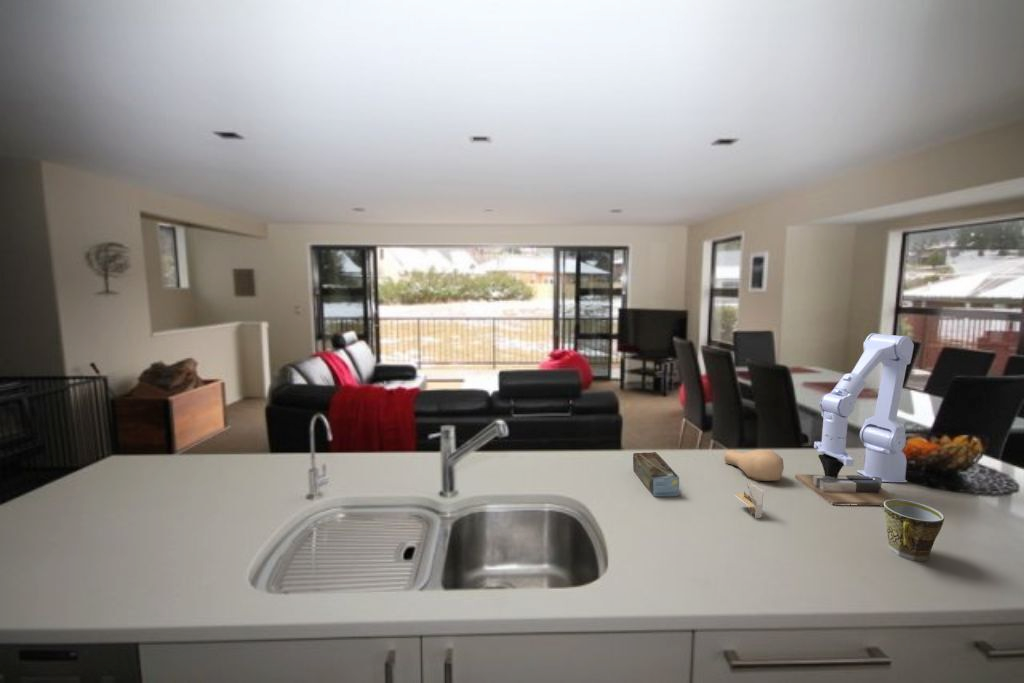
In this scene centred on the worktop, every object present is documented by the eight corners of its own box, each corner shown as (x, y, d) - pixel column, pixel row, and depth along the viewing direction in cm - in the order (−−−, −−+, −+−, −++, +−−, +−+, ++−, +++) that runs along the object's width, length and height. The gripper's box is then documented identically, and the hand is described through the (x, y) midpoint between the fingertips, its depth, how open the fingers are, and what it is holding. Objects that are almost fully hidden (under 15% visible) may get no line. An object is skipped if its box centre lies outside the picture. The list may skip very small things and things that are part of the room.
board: (858, 478, 140) (859, 475, 140) (906, 506, 122) (906, 502, 122) (794, 477, 141) (795, 474, 141) (832, 505, 123) (832, 501, 123)
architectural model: (749, 520, 117) (751, 492, 116) (734, 507, 123) (735, 480, 123) (762, 519, 117) (763, 491, 116) (746, 506, 124) (747, 480, 123)
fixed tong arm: (873, 489, 130) (874, 480, 129) (878, 492, 128) (879, 482, 128) (819, 489, 131) (819, 479, 130) (823, 492, 129) (823, 482, 128)
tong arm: (877, 485, 132) (878, 476, 132) (883, 489, 130) (884, 479, 129) (812, 483, 134) (813, 474, 133) (816, 486, 131) (817, 477, 131)
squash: (768, 489, 133) (762, 460, 133) (716, 472, 152) (711, 446, 152) (794, 478, 137) (789, 449, 136) (741, 462, 156) (736, 437, 155)
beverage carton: (651, 497, 129) (652, 475, 128) (631, 470, 148) (632, 451, 147) (679, 497, 129) (680, 474, 128) (656, 470, 148) (656, 450, 147)
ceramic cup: (884, 535, 108) (888, 495, 107) (942, 553, 101) (947, 510, 99) (872, 557, 100) (876, 513, 98) (934, 578, 92) (939, 531, 91)
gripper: (805, 427, 140) (802, 470, 141) (836, 443, 125) (832, 491, 127) (828, 427, 139) (825, 470, 141) (862, 443, 125) (858, 491, 127)
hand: (830, 480), depth 134 cm, fingers closed
